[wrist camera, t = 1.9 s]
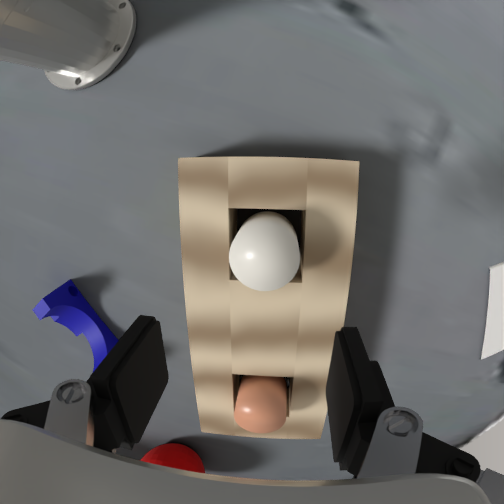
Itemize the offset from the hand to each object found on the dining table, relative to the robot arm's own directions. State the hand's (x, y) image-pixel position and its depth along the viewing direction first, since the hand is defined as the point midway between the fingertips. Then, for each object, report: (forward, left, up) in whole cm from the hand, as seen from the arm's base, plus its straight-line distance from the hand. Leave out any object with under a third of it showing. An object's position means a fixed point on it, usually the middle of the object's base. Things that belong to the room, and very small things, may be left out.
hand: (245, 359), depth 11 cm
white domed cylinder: (0, 0, -16) cm, 16 cm away
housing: (+8, 0, -20) cm, 21 cm away
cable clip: (+13, -22, -20) cm, 32 cm away
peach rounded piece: (+16, 0, -16) cm, 23 cm away
